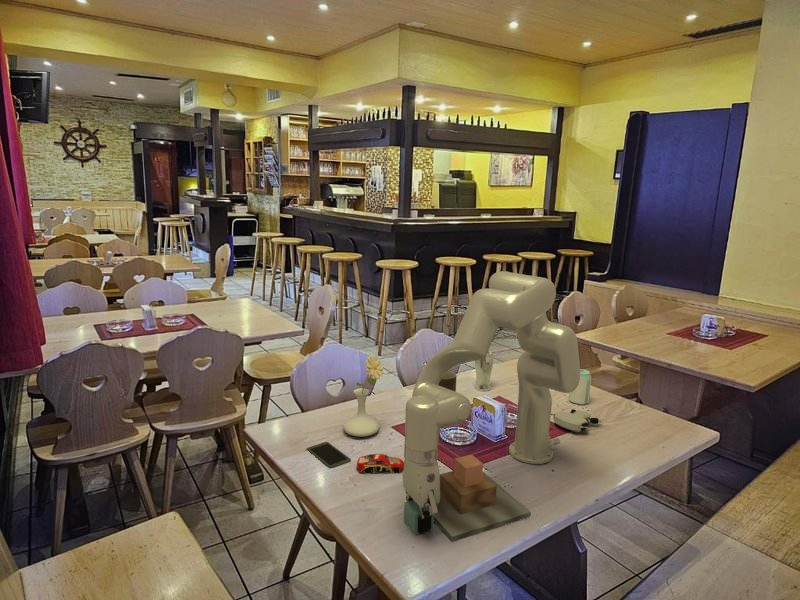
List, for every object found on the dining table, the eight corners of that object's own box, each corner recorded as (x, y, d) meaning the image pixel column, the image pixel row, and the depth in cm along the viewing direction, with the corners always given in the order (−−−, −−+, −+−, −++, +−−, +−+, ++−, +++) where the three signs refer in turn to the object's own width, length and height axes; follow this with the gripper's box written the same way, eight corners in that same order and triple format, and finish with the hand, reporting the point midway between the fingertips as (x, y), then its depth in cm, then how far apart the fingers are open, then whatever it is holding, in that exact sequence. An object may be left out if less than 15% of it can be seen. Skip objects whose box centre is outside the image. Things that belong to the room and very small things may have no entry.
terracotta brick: (470, 472, 129) (471, 454, 128) (482, 482, 125) (483, 464, 124) (453, 476, 127) (454, 458, 126) (464, 487, 123) (465, 468, 122)
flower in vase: (355, 443, 155) (356, 365, 150) (336, 429, 164) (336, 355, 159) (390, 432, 163) (392, 357, 158) (370, 419, 172) (372, 348, 167)
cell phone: (326, 443, 156) (326, 441, 156) (352, 462, 146) (352, 459, 145) (305, 450, 152) (305, 448, 151) (330, 470, 141) (330, 467, 141)
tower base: (478, 471, 142) (479, 450, 140) (530, 516, 122) (532, 493, 121) (407, 489, 132) (407, 467, 131) (451, 541, 113) (453, 516, 111)
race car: (403, 464, 145) (404, 451, 144) (404, 474, 140) (405, 461, 139) (357, 464, 144) (357, 451, 143) (356, 474, 139) (356, 461, 138)
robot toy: (571, 416, 181) (546, 425, 171) (572, 404, 180) (547, 412, 171) (603, 429, 172) (579, 438, 162) (605, 416, 171) (581, 425, 161)
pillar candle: (447, 419, 174) (449, 377, 171) (422, 412, 179) (423, 371, 176) (459, 409, 182) (461, 369, 179) (435, 403, 187) (437, 364, 184)
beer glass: (481, 384, 207) (483, 348, 204) (495, 389, 202) (497, 352, 199) (470, 387, 203) (472, 351, 200) (483, 393, 198) (485, 356, 194)
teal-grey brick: (422, 516, 121) (423, 497, 120) (433, 528, 117) (434, 509, 116) (403, 521, 119) (404, 502, 118) (413, 534, 115) (414, 514, 114)
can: (564, 399, 193) (567, 369, 191) (579, 397, 196) (582, 367, 194) (578, 406, 187) (581, 375, 185) (592, 403, 190) (596, 373, 188)
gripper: (455, 466, 108) (451, 542, 112) (418, 432, 123) (415, 500, 127) (424, 473, 105) (421, 551, 109) (389, 438, 120) (388, 507, 124)
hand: (418, 523), depth 118 cm, fingers closed on teal-grey brick, 5 cm apart
